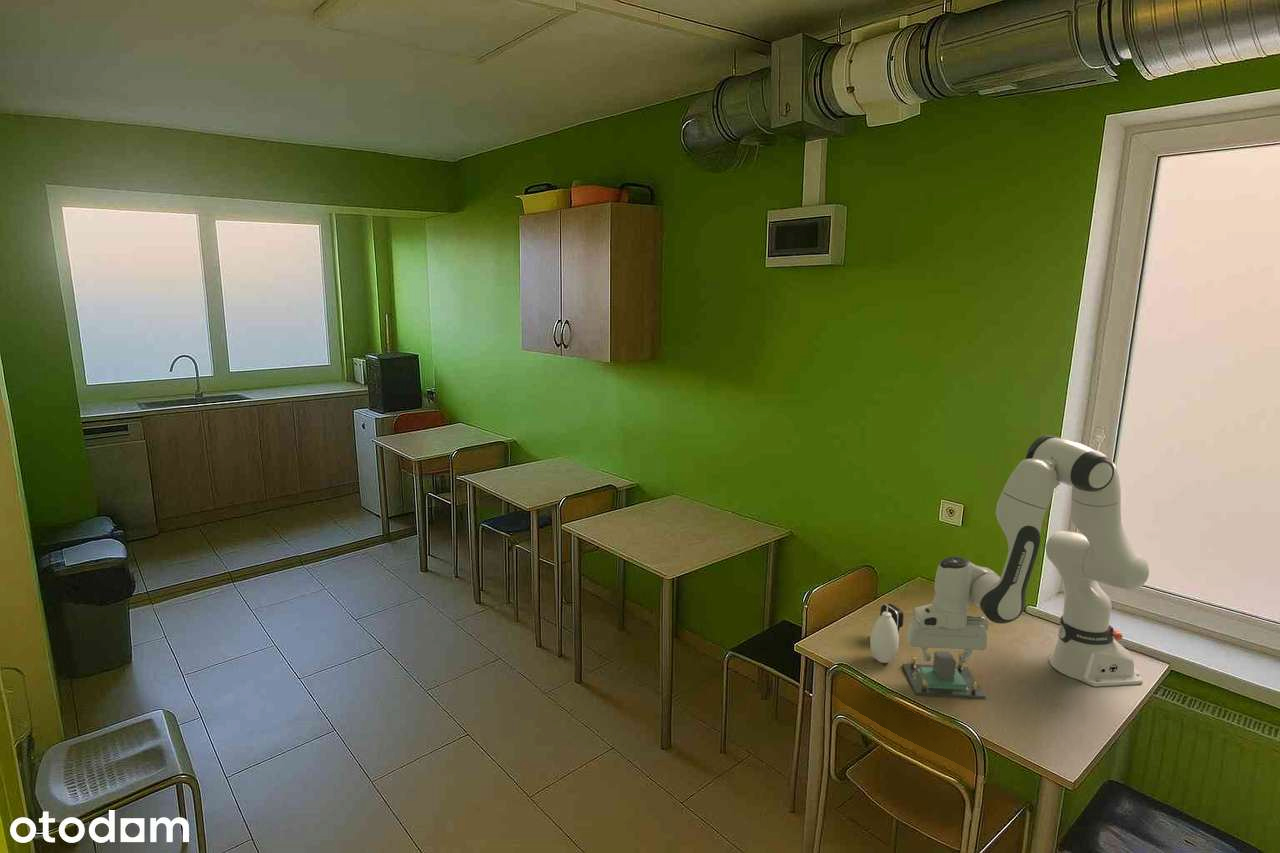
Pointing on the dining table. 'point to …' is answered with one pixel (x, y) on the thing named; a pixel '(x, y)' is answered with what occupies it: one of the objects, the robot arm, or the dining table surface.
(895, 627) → the white air blower bulb
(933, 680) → the board
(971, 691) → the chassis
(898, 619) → the battery charger
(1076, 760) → the dining table surface
